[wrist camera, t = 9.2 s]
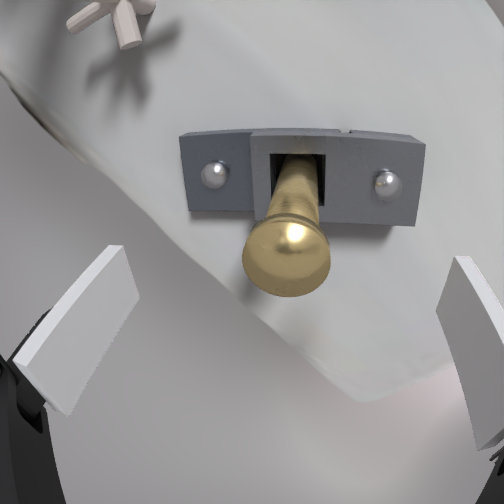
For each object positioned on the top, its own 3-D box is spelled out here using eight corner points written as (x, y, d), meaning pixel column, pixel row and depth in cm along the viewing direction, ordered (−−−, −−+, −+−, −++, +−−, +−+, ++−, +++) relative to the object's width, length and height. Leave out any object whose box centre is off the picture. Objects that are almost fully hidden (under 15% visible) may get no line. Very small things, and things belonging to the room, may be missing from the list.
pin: (276, 145, 26) (238, 221, 13) (322, 145, 25) (333, 224, 12) (278, 187, 28) (245, 294, 15) (322, 188, 27) (327, 299, 14)
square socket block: (187, 133, 26) (165, 143, 22) (409, 135, 23) (429, 146, 19) (195, 202, 30) (177, 223, 26) (402, 207, 26) (417, 230, 22)
